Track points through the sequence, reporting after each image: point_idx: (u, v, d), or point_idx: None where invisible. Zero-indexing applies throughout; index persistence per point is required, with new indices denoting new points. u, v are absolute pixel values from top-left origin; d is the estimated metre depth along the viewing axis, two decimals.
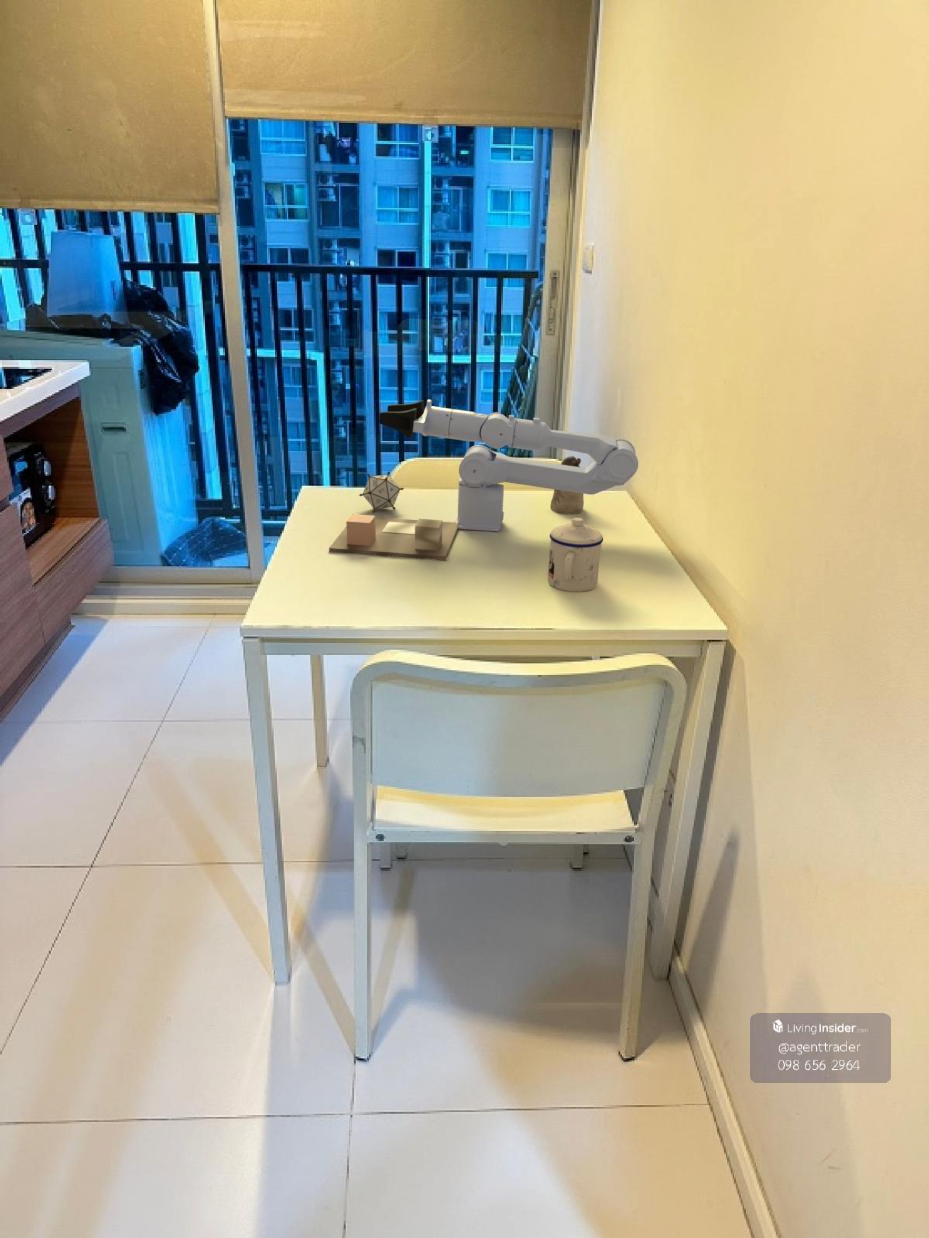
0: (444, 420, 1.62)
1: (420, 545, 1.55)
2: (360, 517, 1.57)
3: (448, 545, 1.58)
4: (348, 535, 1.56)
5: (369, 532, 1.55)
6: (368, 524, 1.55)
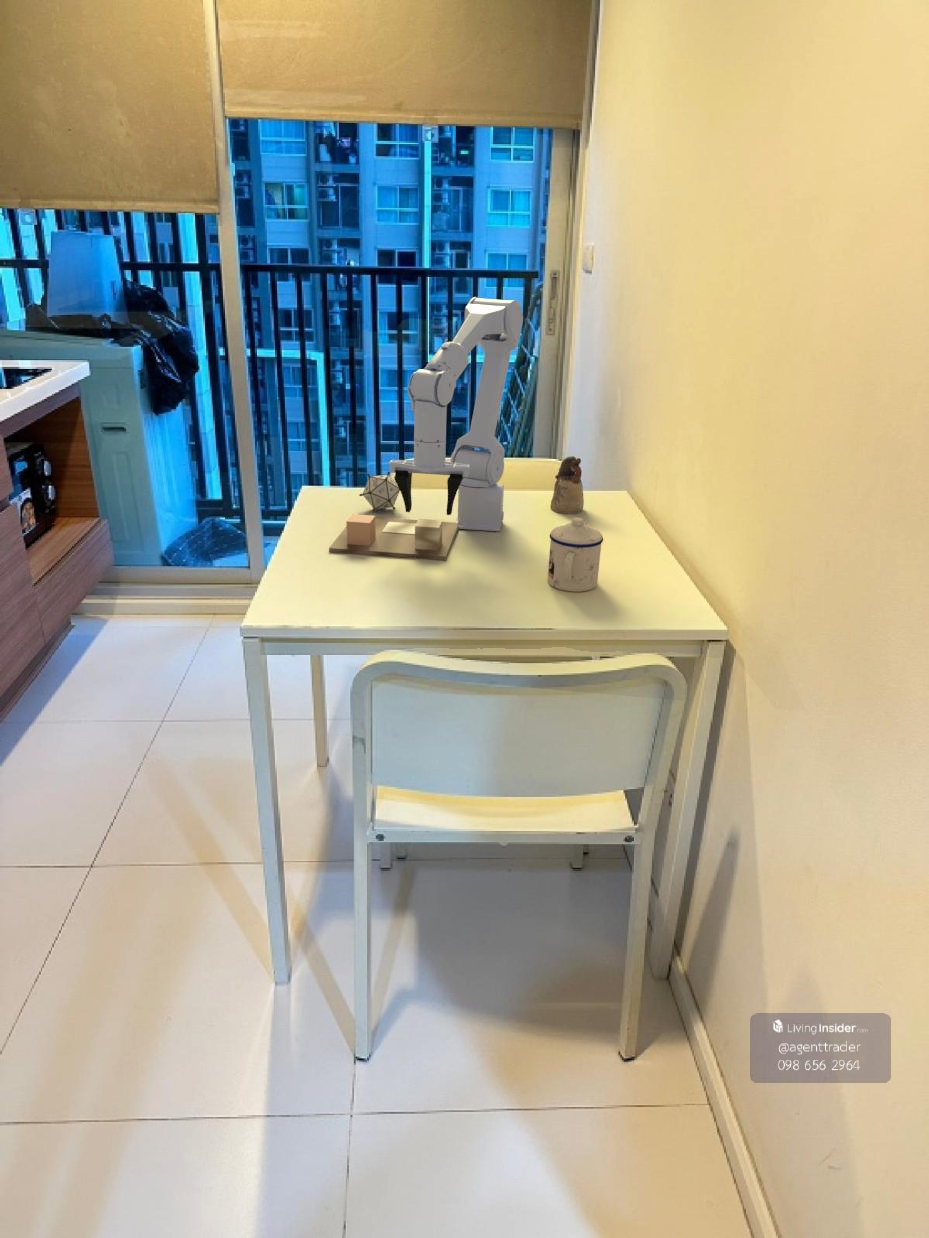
0: (443, 447, 1.48)
1: (420, 545, 1.55)
2: (360, 517, 1.57)
3: (448, 545, 1.58)
4: (348, 535, 1.56)
5: (369, 532, 1.55)
6: (368, 524, 1.55)
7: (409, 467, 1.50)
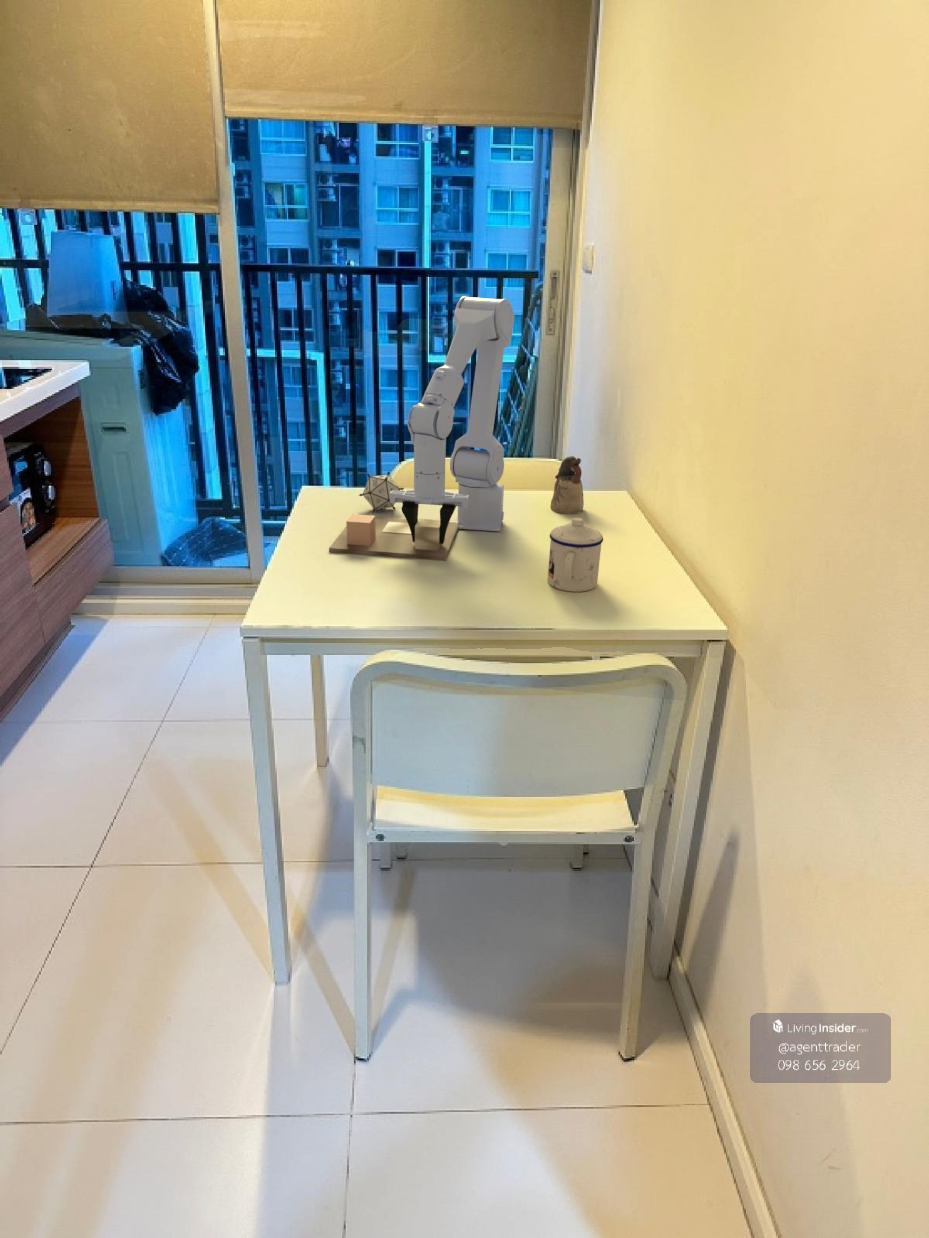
0: (442, 478, 1.51)
1: (420, 545, 1.55)
2: (360, 517, 1.57)
3: (448, 545, 1.58)
4: (348, 535, 1.56)
5: (369, 532, 1.55)
6: (368, 524, 1.55)
7: (409, 498, 1.52)
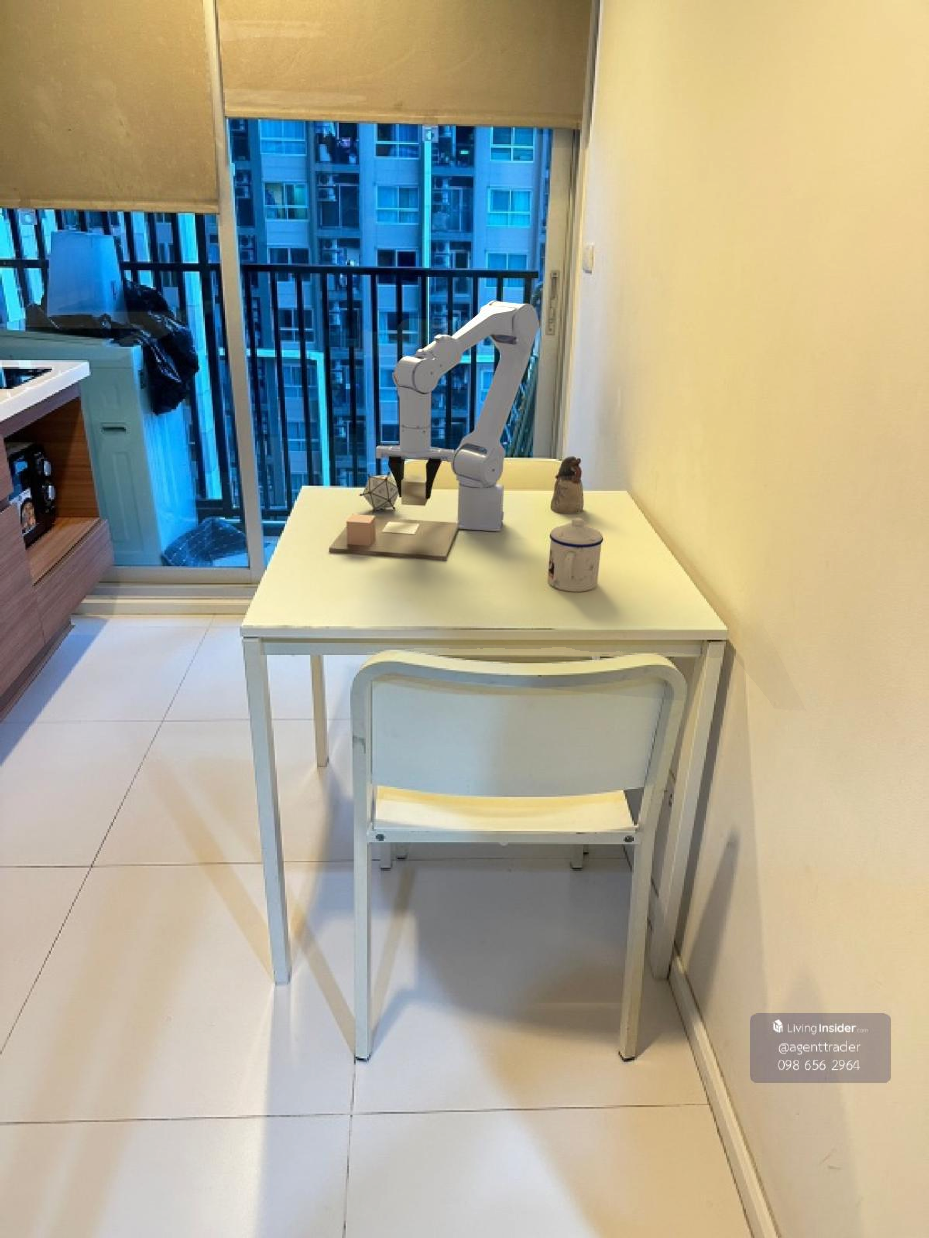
0: (428, 432, 1.52)
1: (406, 501, 1.57)
2: (360, 517, 1.57)
3: (448, 545, 1.58)
4: (348, 535, 1.56)
5: (369, 532, 1.55)
6: (368, 524, 1.55)
7: (395, 453, 1.53)
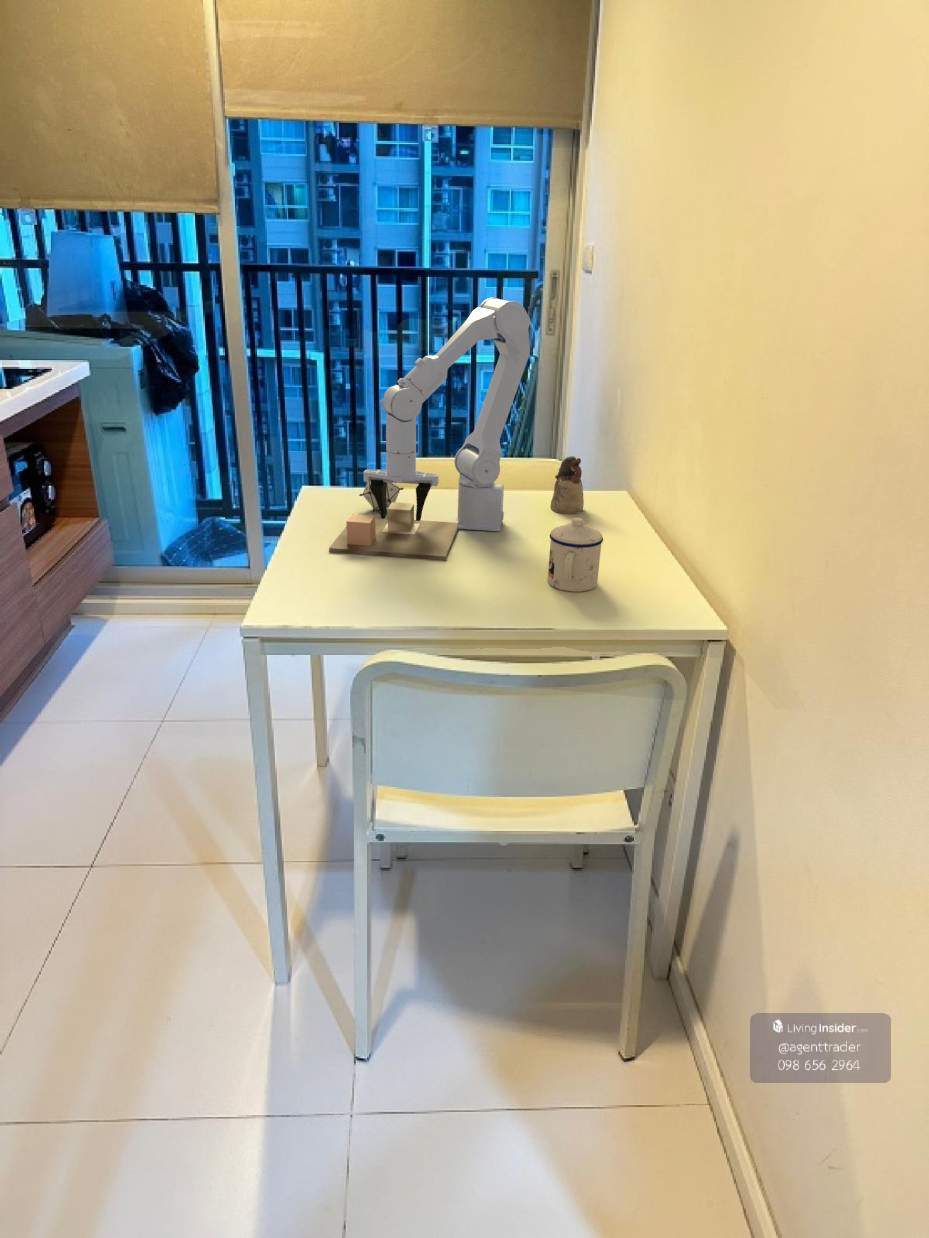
0: (413, 458, 1.59)
1: (392, 527, 1.64)
2: (360, 517, 1.57)
3: (448, 545, 1.58)
4: (348, 535, 1.56)
5: (369, 532, 1.55)
6: (368, 524, 1.55)
7: (382, 477, 1.60)
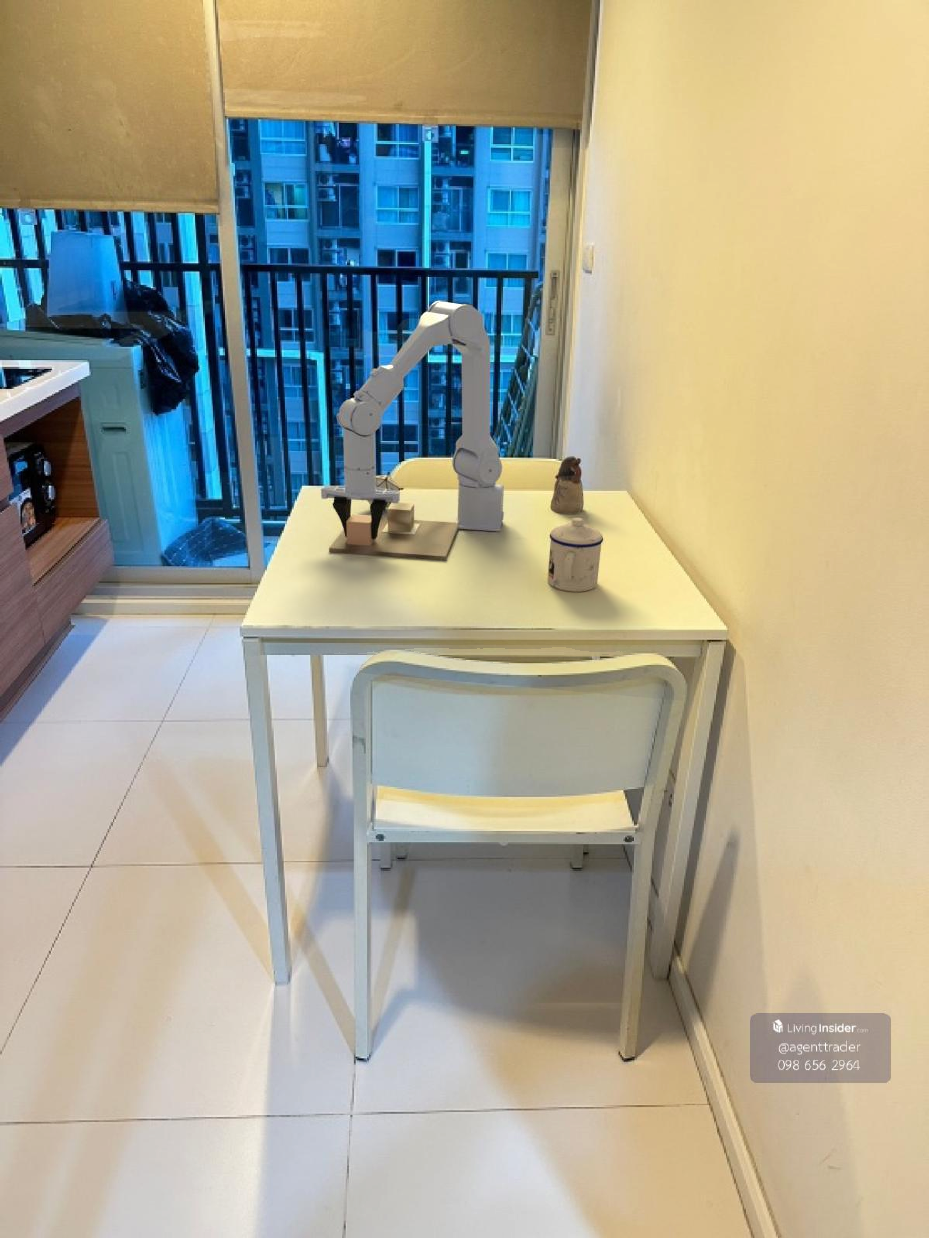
0: (372, 474, 1.52)
1: (392, 527, 1.64)
2: (360, 517, 1.57)
3: (448, 545, 1.58)
4: (348, 535, 1.56)
5: (369, 532, 1.55)
6: (368, 524, 1.55)
7: (340, 493, 1.53)
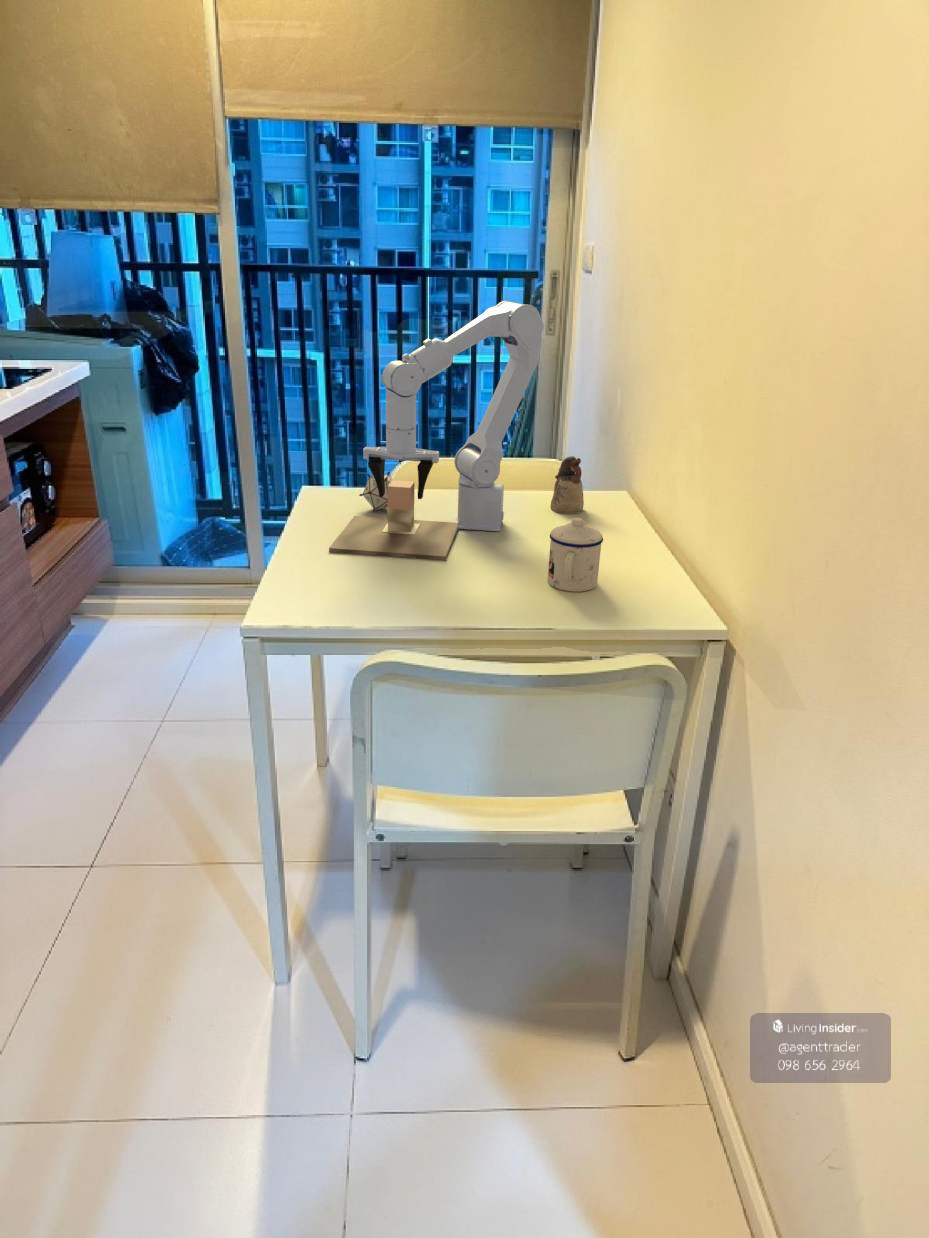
0: (413, 434, 1.57)
1: (392, 527, 1.64)
2: (400, 483, 1.63)
3: (448, 545, 1.58)
4: (389, 500, 1.62)
5: (409, 497, 1.61)
6: (408, 489, 1.60)
7: (381, 454, 1.58)
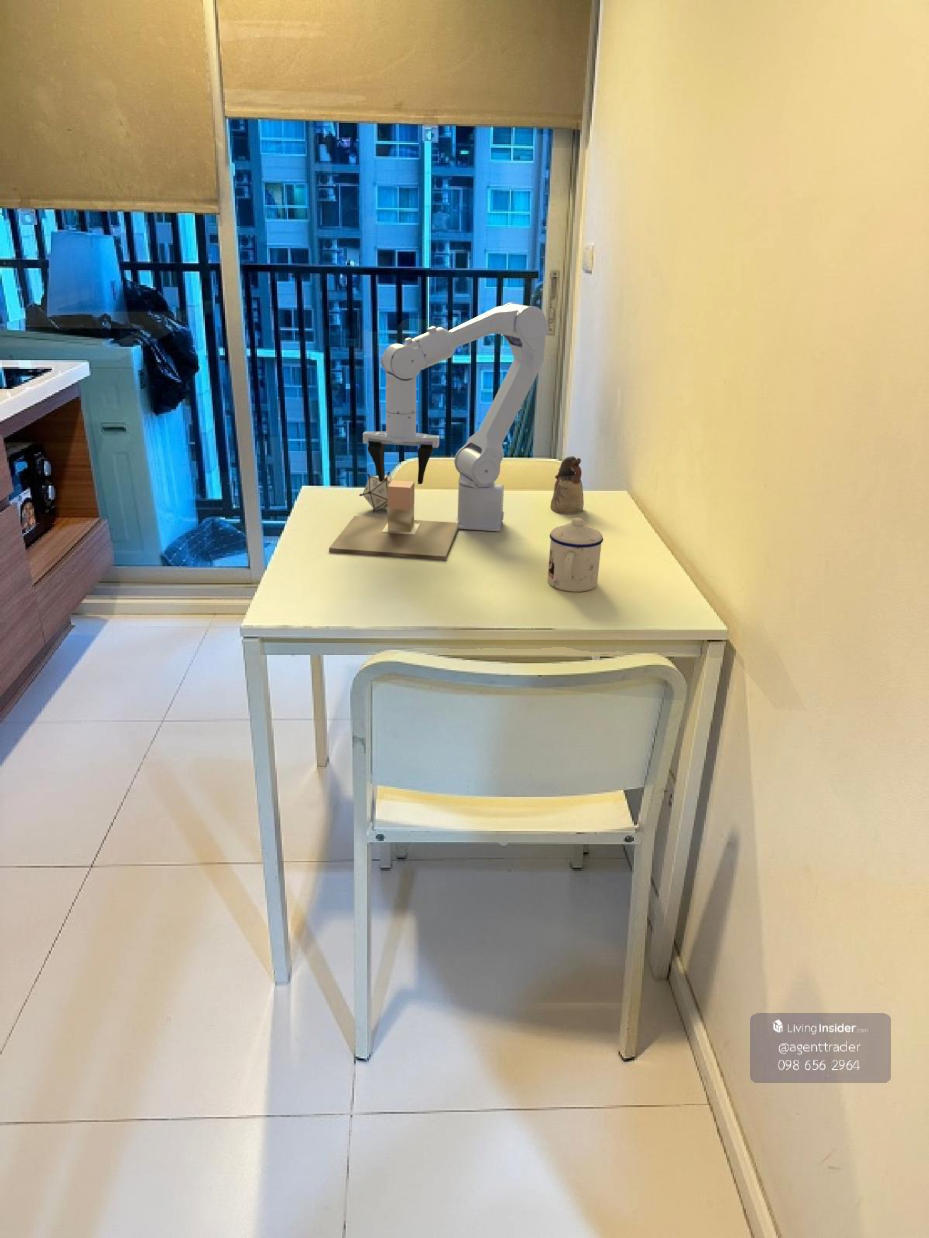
0: (413, 418, 1.56)
1: (392, 527, 1.64)
2: (400, 483, 1.63)
3: (448, 545, 1.58)
4: (389, 500, 1.62)
5: (409, 497, 1.61)
6: (408, 489, 1.60)
7: (381, 438, 1.57)
